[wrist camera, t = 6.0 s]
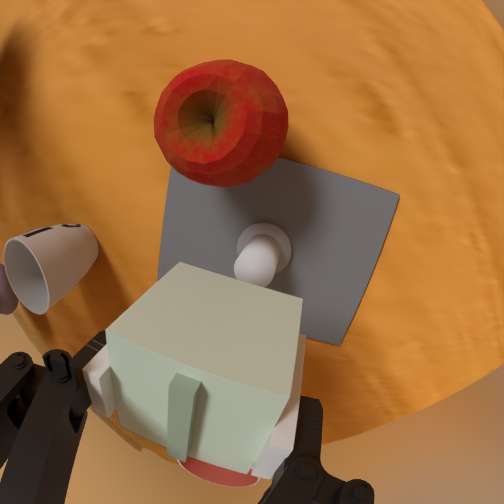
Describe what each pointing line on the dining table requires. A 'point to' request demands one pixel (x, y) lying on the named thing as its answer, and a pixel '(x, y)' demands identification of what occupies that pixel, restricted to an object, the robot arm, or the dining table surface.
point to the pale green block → (205, 365)
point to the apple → (221, 123)
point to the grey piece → (284, 237)
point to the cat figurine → (6, 294)
